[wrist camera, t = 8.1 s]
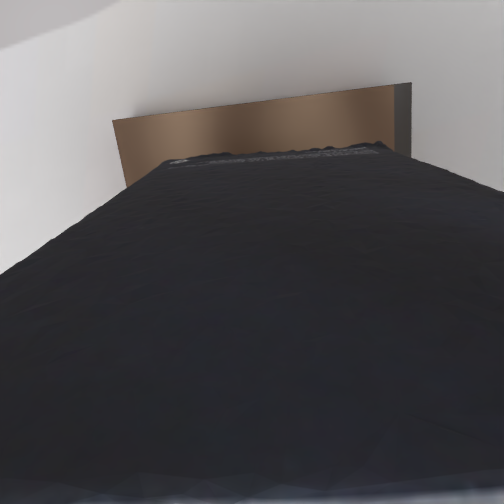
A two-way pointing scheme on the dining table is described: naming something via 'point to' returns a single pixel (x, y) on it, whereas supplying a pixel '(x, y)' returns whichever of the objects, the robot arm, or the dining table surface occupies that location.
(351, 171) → the small box
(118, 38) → the dining table surface
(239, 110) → the dock
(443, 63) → the dining table surface
